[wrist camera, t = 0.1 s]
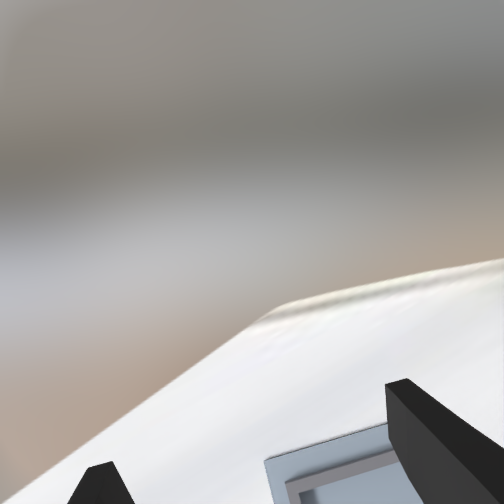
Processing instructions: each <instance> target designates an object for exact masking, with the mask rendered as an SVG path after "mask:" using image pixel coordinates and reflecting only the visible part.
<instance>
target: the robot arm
mask: <svg viewBox="0 0 504 504" xmlns="http://www.w3.org/2000/svg"><path fill="white" fill-rule="evenodd" d="M385 393H386V408H387V423H388V438H389V440H390V442H391V444H392V447H393V449H394V451H395V453H396V455H397V457H398V459H399V461H400V463H401V465H402V467H403V469H404V471H405V473H406V475H407V477H408V479H409V480H410V482H411V484H412V485H413V487H414V489H415V490H416V492H417V493H418V495H419V497H420V498H421V500H422V502H423V503H424V504H504V448H502V447H501V446H500V445H498V444H497V443H495V442H494V441H492V440H491V439H489V438H488V437H487V436H485V435H484V434H482V433H481V432H479V431H478V430H477V429H475V428H474V427H472V426H471V425H469V424H468V423H467V422H465V421H464V420H463V419H461V418H460V417H458V416H457V415H456V414H454V413H453V412H452V411H450V410H449V409H448V408H446V407H445V406H444V405H442V404H441V403H440V402H438V401H437V400H436V399H434V398H433V397H432V396H430V395H429V394H428V393H426V392H425V391H424V390H423V389H421V388H420V387H419V386H417V385H416V384H415V383H413V382H412V381H411V380H409V379H407V378H406V379H402V380H399V381H395V382H391V383H388V384H385ZM67 504H135V503H134V501H133V499H132V497H131V495H130V494H129V492H128V490H127V488H126V486H125V484H124V482H123V480H122V478H121V476H120V475H119V473H118V471H117V469H116V467H115V465H114V463H113V461H110V462H107V463H103V464H100V465H96V466H93V467H89V468H88V469H87V470H86V472H85V473H84V475H83V477H82V479H81V480H80V482H79V484H78V486H77V487H76V489H75V491H74V493H73V494H72V496H71V498H70V500H69V501H68V503H67Z"/></svg>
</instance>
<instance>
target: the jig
mask: <svg viewBox="0 0 504 504" xmlns="http://www.w3.org/2000/svg"><path fill="white" fill-rule="evenodd" d="M264 465H265V469H266V473H267V477H268V481H269V485H270V489H271V493H272V498H273V502H274V504H424V503H423V502H422V500H421V498H420V497H419V495H418V493H417V492H416V490H415V489H414V487H413V485H412V484H411V482H410V480H409V479H408V477H407V475H406V473H405V471H404V469H403V467H402V465H401V463H400V461H399V459H398V457H397V455H396V453H395V451H394V449H393V447H392V444H391V442H390V440H389V438H388V423H387V424H384V425H381V426H378V427H374V428H371V429H368V430H364V431H361V432H358V433H354V434H351V435H348V436H344V437H341V438H338V439H334V440H331V441H328V442H325V443H321V444H318V445H315V446H311V447H308V448H305V449H301V450H298V451H295V452H291V453H288V454H285V455H282V456H278V457H275V458H272V459H268V460H265V461H264Z"/></svg>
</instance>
